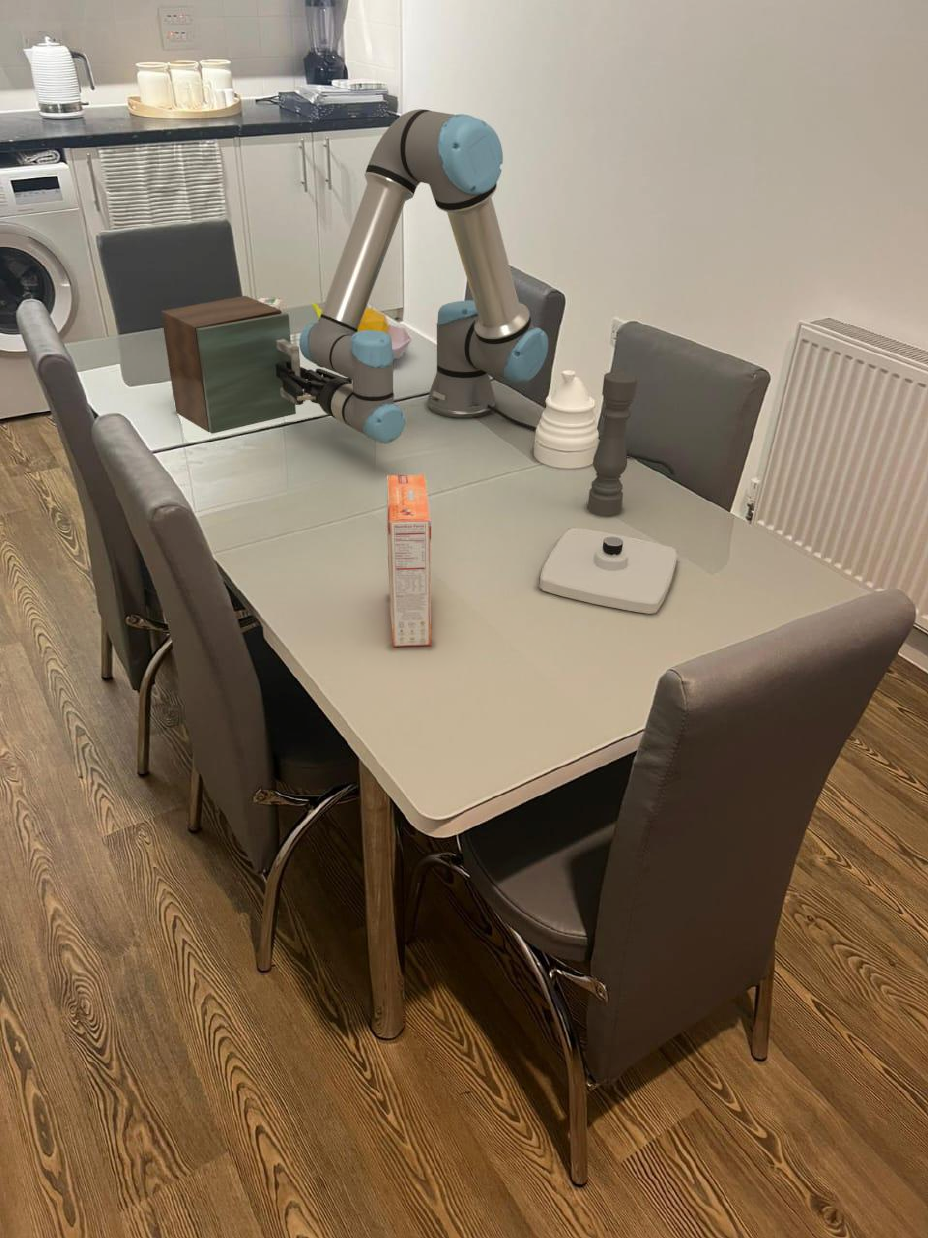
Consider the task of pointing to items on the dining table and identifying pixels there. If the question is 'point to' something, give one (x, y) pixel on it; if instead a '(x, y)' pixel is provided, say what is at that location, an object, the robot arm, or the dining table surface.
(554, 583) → the showerhead
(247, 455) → the dining table surface
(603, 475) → the candle holder
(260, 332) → the cupboard door
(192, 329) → the cupboard
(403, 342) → the fruit bowl
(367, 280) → the robot arm
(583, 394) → the honey pot
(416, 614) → the cracker box
